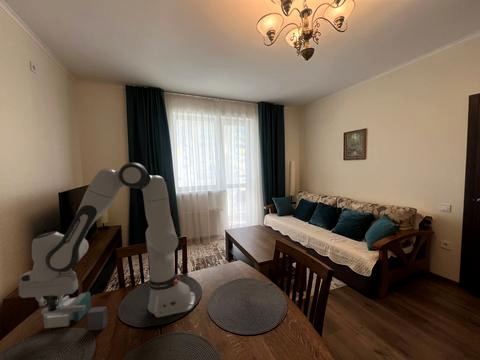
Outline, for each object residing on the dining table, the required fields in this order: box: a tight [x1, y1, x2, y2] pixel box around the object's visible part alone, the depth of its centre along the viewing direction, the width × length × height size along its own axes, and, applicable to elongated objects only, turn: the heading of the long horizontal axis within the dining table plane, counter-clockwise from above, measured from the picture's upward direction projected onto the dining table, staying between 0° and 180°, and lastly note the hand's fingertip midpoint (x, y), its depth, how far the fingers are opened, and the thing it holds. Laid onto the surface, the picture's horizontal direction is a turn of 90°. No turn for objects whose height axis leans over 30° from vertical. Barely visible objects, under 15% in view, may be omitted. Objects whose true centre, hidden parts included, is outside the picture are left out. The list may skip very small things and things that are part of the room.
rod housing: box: [86, 306, 109, 332], centre depth 89 cm, size 6×3×8 cm, turn 96°
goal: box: [42, 295, 72, 329], centre depth 96 cm, size 9×13×6 cm
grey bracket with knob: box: [40, 291, 92, 322], centre depth 93 cm, size 16×15×15 cm
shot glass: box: [61, 296, 78, 321], centre depth 96 cm, size 7×7×7 cm
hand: (51, 304), depth 87 cm, fingers open, 5 cm apart
